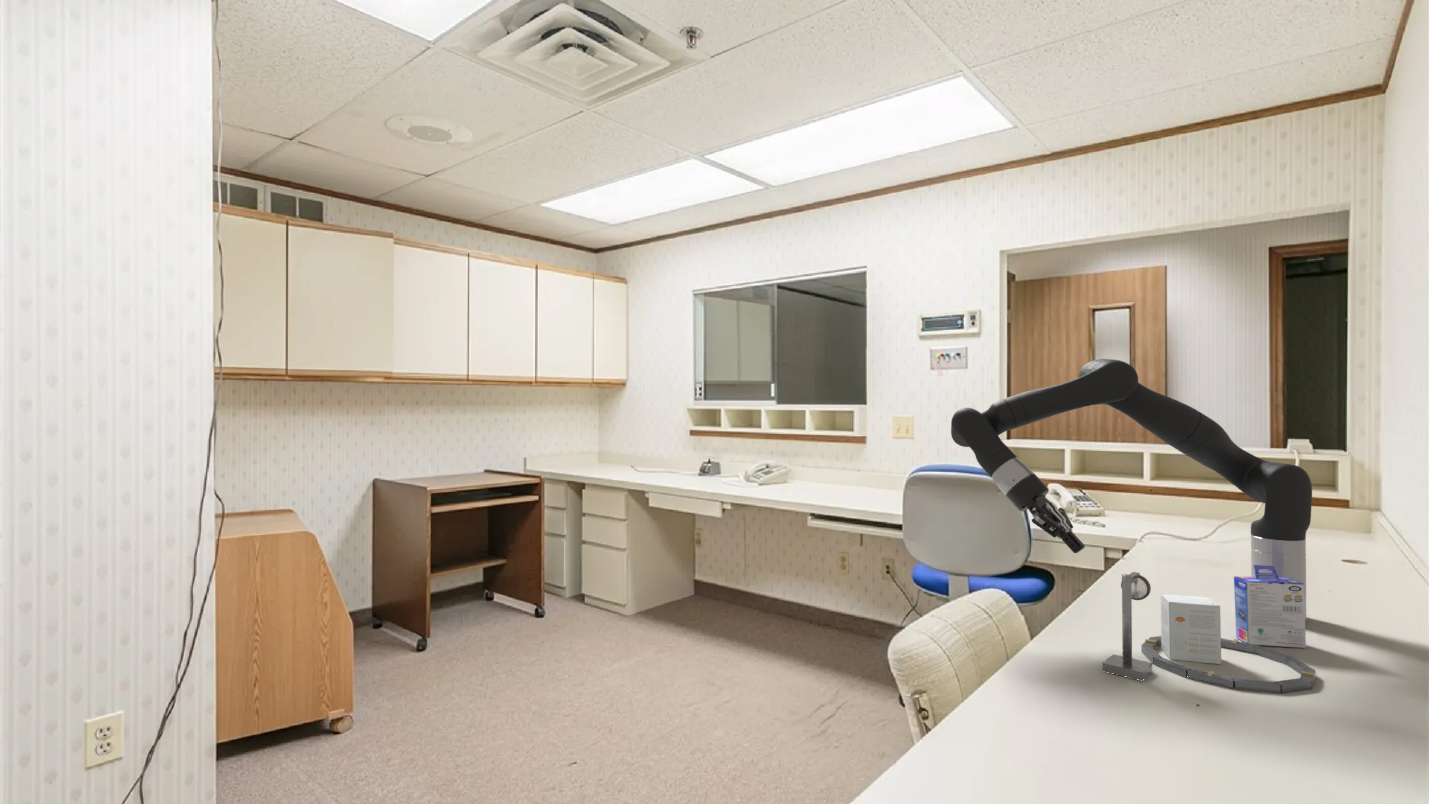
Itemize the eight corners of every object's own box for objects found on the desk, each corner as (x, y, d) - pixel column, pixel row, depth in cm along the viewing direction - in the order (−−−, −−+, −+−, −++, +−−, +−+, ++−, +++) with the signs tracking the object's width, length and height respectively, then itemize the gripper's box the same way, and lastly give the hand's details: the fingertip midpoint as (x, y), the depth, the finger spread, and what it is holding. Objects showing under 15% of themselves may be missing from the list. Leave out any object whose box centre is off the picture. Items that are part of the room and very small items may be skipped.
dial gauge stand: (1118, 658, 125) (1117, 566, 125) (1156, 667, 120) (1155, 572, 121) (1102, 671, 118) (1101, 575, 119) (1142, 681, 114) (1141, 581, 114)
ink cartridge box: (1290, 639, 135) (1289, 565, 135) (1308, 649, 129) (1307, 571, 129) (1232, 636, 137) (1232, 563, 137) (1248, 645, 131) (1247, 569, 131)
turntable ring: (1162, 632, 139) (1162, 625, 139) (1321, 664, 122) (1321, 655, 122) (1127, 664, 122) (1127, 655, 122) (1306, 705, 105) (1306, 695, 105)
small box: (1210, 654, 127) (1210, 597, 127) (1222, 665, 121) (1221, 605, 122) (1160, 649, 129) (1159, 593, 129) (1169, 659, 124) (1168, 601, 124)
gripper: (1019, 474, 141) (1084, 543, 132) (1043, 470, 150) (1105, 535, 141) (993, 497, 145) (1054, 566, 136) (1018, 492, 154) (1077, 556, 145)
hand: (1080, 550), depth 139 cm, fingers closed
